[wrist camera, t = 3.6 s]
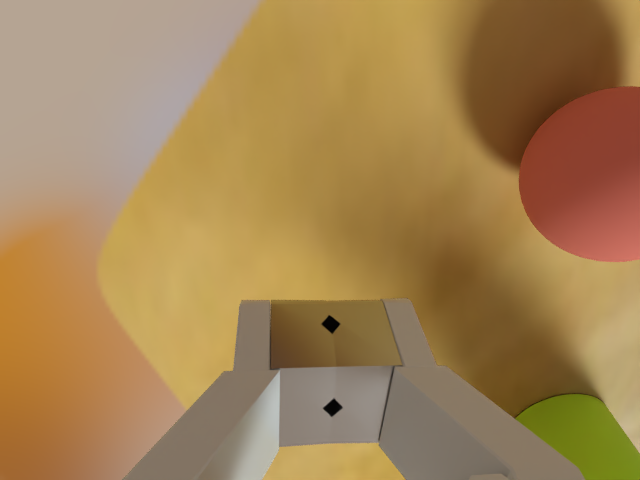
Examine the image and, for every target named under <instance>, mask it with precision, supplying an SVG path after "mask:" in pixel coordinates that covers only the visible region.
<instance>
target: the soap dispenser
mask: <svg viewBox="0 0 640 480" xmlns="http://www.w3.org/2000/svg"><path fill="white" fill-rule="evenodd" d="M515 419H516V420H517V421H518V422H520V423H521V424H522V425H523V426H525V427H526V428H527V429H529V430H530V431H531V432H533V433H534V434H535V435H536V436H538V437H539V438H540V439H542V440H543V441H544V442H545V443H547V444H548V445H549V446H551V447H552V448H553V449H555V450H556V451H557V452H558V453H560V454H561V455H562V456H564V457H565V458H566V459H568V460H569V461H570V462H571V463H573V464H574V465H575V466H577V467H578V468H579V470H580V472H581V473H582V475H583V477H584V478H585V480H640V454H639V452H638V451H637V449H636V448H635V446H634V445H633V444H632V442H631V441H630V439H629V438H628V437H627V435H626V434H625V432H624V431H623V429H622V428H621V427H620V425H619V424H618V422H617V421H616V420H615V418H614V417H613V415H612V414H611V412H610V411H609V410H608V408H607V407H606V405H605V404H604V403H603V402H602V401H601V400H599V399H597V398H595V397H593V396H589V395H584V394H567V395H560V396H556V397H552V398H549V399H546V400H543V401H541V402H538V403H536V404H534V405H532V406H531V407H529V408H527V409H526V410H524V411H523V412H522V413H521V414H519V415H518V416H517V417H516V418H515Z"/></svg>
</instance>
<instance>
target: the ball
mask: <svg viewBox="0 0 640 480" xmlns="http://www.w3.org/2000/svg"><path fill="white" fill-rule="evenodd" d="M519 190H520V195H521V200H522V203H523V206H524V209H525V211H526V213H527V215H528V217H529V219H530V220H531V222H532V223H533V225H534V226H535V227H536V228H537V230H538V231H539V232H540V233H541V234H542V235H543V236H544V237H545V238H546V239H548V240H549V241H550V242H552V243H553V244H554V245H556V246H558V247H559V248H561V249H563V250H565V251H567V252H569V253H571V254H574V255H577V256H579V257H582V258H587V259H591V260H596V261H606V262H625V261H632V260H638V259H640V87H633V86H631V87H615V88H609V89H603V90H599V91H596V92H592V93H589V94H587V95H584V96H582V97H579V98H577V99H575V100H573V101H571V102H569V103H567V104H566V105H564V106H563V107H561V108H560V109H558V110H557V111H556V112H555V113H554V114H552V115H551V116H550V117H549V118H548V119H547V120H546V121H545V122H544V123H543V124H542V125H541V126H540V127H539V129H538V130H537V131H536V132H535V134H534V135H533V137H532V138H531V140H530V142H529V144H528V146H527V147H526V149H525V152H524V155H523V157H522V161H521V165H520V173H519Z"/></svg>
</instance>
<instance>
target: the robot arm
mask: <svg viewBox="0 0 640 480" xmlns="http://www.w3.org/2000/svg"><path fill="white" fill-rule="evenodd" d="M327 443H379V446H380V448H381V449H382V450H383V451H384V453H385V454H386V455H387V456H388V458H389V459H390V460H391V461H392V463H393V464H394V465H395V466H396V468H397V469H398V470H399V471H400V473H401V474H402V475H403V476H404V478H405V479H406V480H585V478H584V477H583V475H582V473H581V472H580V470H579V468H578V467H577V466H575V465H574V464H573V463H571V462H570V461H569V460H568V459H566V458H565V457H564V456H562V455H561V454H560V453H558V452H557V451H556V450H555V449H553V448H552V447H551V446H549V445H548V444H547V443H545V442H544V441H543V440H542V439H540V438H539V437H538V436H536V435H535V434H534V433H533V432H531V431H530V430H529V429H527V428H526V427H525V426H523V425H522V424H521V423H520V422H518V421H517V420H516V419H514V418H513V417H512V416H510V415H509V414H508V413H507V412H505V411H504V410H503V409H501V408H500V407H499V406H497V405H496V404H495V403H494V402H492V401H491V400H490V399H488V398H487V397H486V396H485V395H483V394H482V393H481V392H479V391H478V390H477V389H475V388H474V387H473V386H472V385H470V384H469V383H468V382H466V381H465V380H464V379H462V378H461V377H460V376H459V375H457V374H456V373H455V372H453V371H452V370H451V369H449V368H448V367H447V366H437V364H436V361H435V359H434V356H433V354H432V352H431V349H430V347H429V344H428V342H427V339H426V337H425V334H424V332H423V329H422V327H421V324H420V322H419V319H418V317H417V314H416V312H415V309H414V307H413V304H412V302H411V301H410V300H409V299H408V298H400V299H380V300H339V301H324V300H271V330H270V301H269V300H242V301H241V303H240V306H239V317H238V327H237V337H236V348H235V358H234V368H233V371H224V372H223V373H222V374H221V375H220V376H219V377H218V378H217V379H216V380H215V381H214V383H213V384H212V385H211V386H210V387H209V388H208V389H207V390H206V391H205V392H204V393H203V394H202V395H201V396H200V397H199V398H198V400H197V401H196V402H195V403H194V404H193V405H192V406H191V407H190V408H189V409H188V410H187V411H186V412H185V413H184V414H183V416H182V417H181V418H180V419H179V420H178V421H177V422H176V423H175V424H174V425H173V426H172V427H171V428H170V429H169V431H168V432H167V433H166V434H165V435H164V436H163V437H162V438H161V439H160V440H159V441H158V442H157V443H156V444H155V445H154V446H153V448H151V450H150V451H149V452H148V453H147V454H146V455H145V456H144V457H143V458H142V459H141V460H140V461H139V462H138V463H137V464H136V466H135V467H134V468H133V469H132V470H131V471H130V472H129V473H128V474H127V475H126V476H125V477H124V478H123V479H122V480H262V479H263V477H264V475H265V473H266V472H267V470H268V468H269V466H270V465H271V463H272V461H273V460H274V458H275V456H276V454H277V453H278V451H279V447H285V446H299V445H313V444H327Z"/></svg>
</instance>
